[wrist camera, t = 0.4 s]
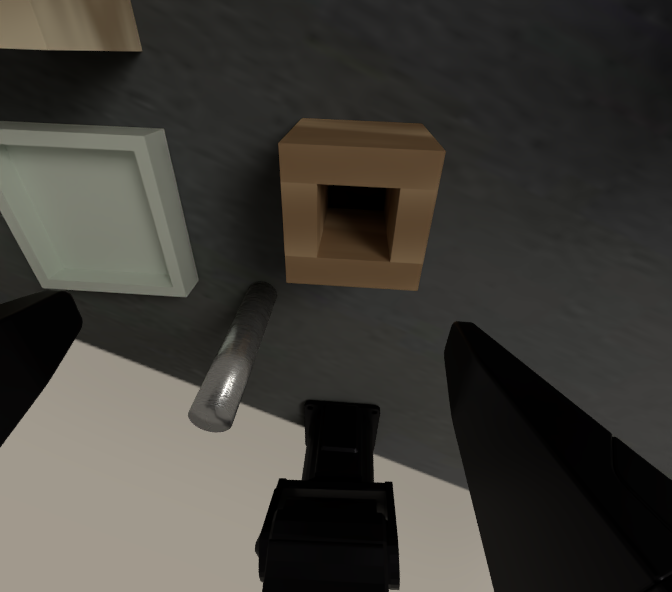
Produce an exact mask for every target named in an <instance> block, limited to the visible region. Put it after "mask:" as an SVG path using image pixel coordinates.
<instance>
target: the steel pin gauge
mask: <svg viewBox="0 0 672 592" xmlns="http://www.w3.org/2000/svg"><path fill="white" fill-rule="evenodd" d="M276 299H277V292H276V290H275V289H274V287H273V286H271V285H270V284H268V283H266V282H255V283H253V284H252V285H251V286H250V287H249V289H248V291H247V293H246V295H245V297H244V299H243V301H242V303H241V305H240V307H239V309H238V312H237V314H236V316H235V318H234V320H233V322H232V324H231V326H230V328H229V330H228V332H227V334H226V336H225V338H224V340H223V342H222V344H221V346H220V349H219V351H218V353H217V355H216V357H215V359H214V361H213V363H212V365H211V367H210V369H209V371H208V373H207V375H206V377H205V379H204V381H203V384H202V386H201V388H200V390H199V392H198V394H197V396H196V398H195V400H194V402H193V404H192V406H191V409H190V410H189V413H188V417H189V419H190V421H191V422H192V423H193V424H194V425H195V426H197V427H199V428H200V429H203V430H206V431H210V432H223V431H226V430H228V429H230V428H231V426H232V424H233V421H234V418H235V415H236V412H237V409H238V407H239V404H240V401H241V398H242V395H243V392H244V390H245V387H246V384H247V381H248V378H249V375H250V373H251V370H252V367H253V364H254V361H255V358H256V355H257V353H258V350H259V347H260V344H261V341H262V338H263V336H264V333H265V330H266V327H267V324H268V321H269V319H270V316H271V313H272V310H273V307H274V304H275V301H276Z"/></svg>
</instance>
